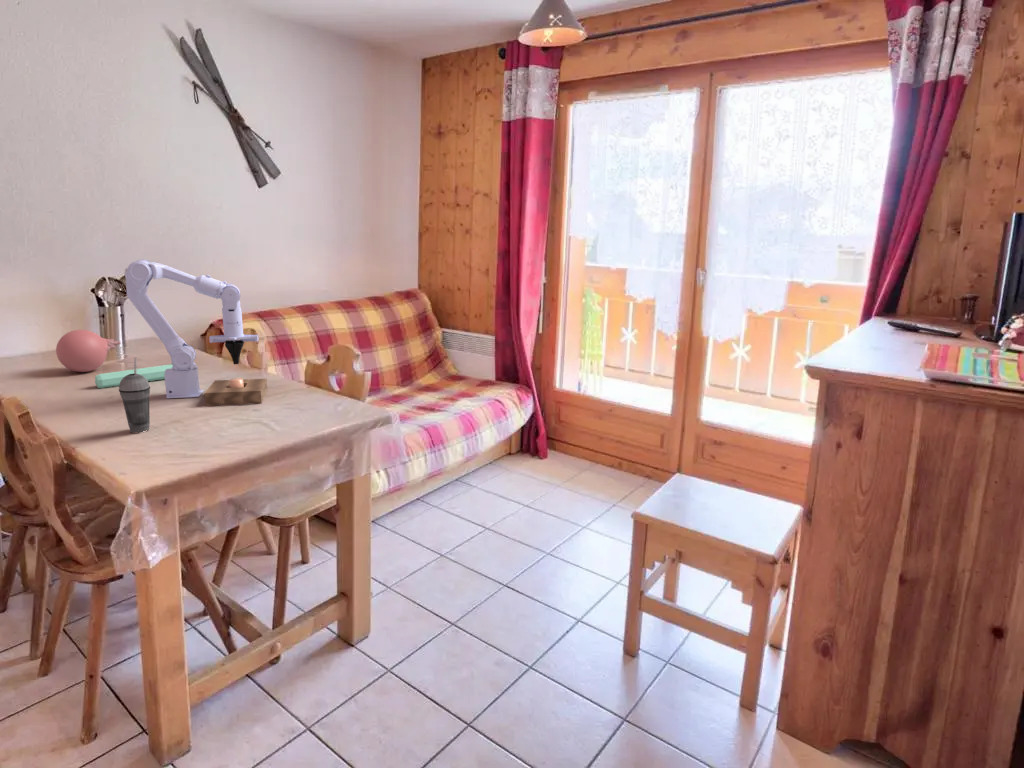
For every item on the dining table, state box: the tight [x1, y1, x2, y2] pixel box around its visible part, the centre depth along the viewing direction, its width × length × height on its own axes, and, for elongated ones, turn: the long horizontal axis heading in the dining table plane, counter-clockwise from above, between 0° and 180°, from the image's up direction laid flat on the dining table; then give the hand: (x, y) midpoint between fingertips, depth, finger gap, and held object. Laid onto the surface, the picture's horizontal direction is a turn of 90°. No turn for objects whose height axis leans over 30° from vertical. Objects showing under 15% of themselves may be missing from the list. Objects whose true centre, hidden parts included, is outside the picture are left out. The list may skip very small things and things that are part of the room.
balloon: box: [55, 329, 122, 373], centre depth 233 cm, size 15×20×15 cm
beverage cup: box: [118, 357, 151, 433], centre depth 169 cm, size 7×7×20 cm
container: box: [94, 363, 174, 389], centre depth 220 cm, size 6×6×25 cm
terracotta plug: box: [229, 377, 244, 388], centre depth 204 cm, size 4×4×6 cm
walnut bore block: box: [204, 378, 269, 407], centre depth 204 cm, size 16×16×4 cm
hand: (236, 363), depth 209 cm, fingers closed
